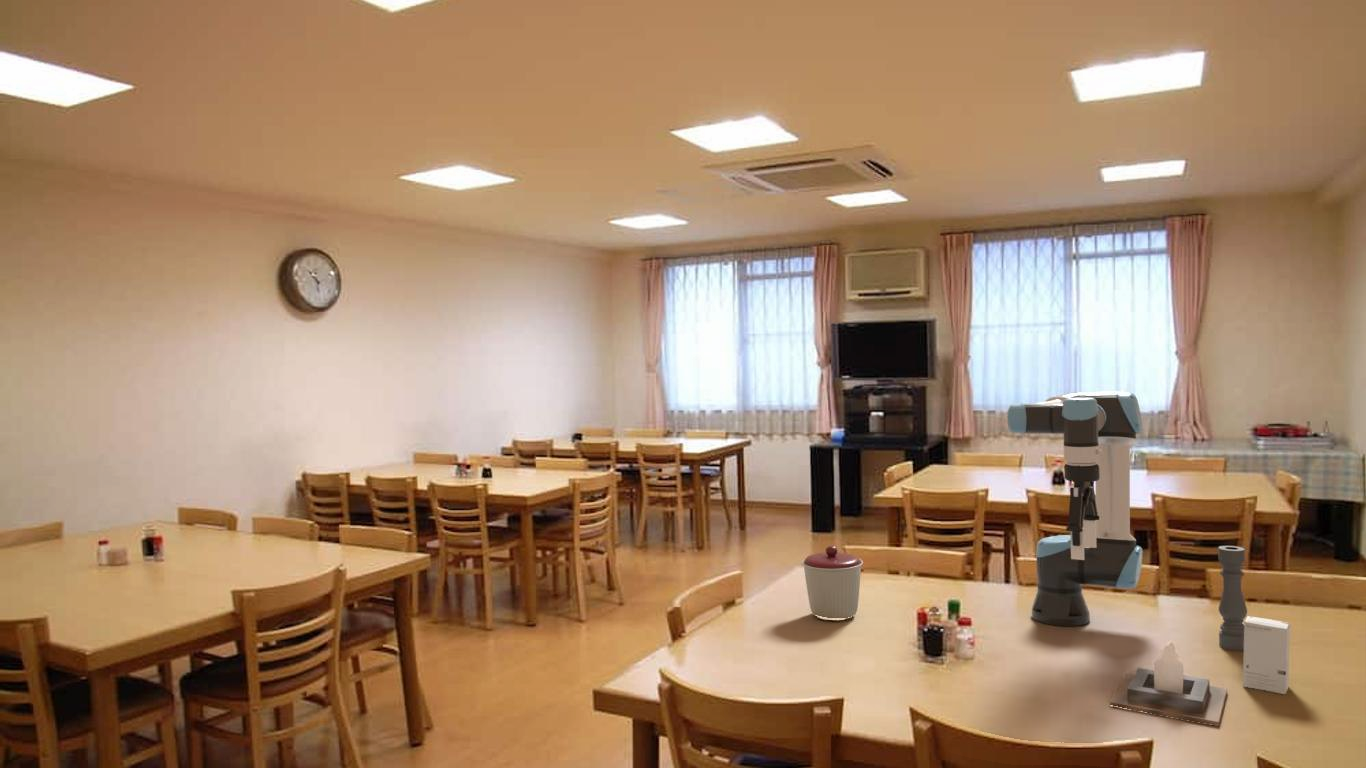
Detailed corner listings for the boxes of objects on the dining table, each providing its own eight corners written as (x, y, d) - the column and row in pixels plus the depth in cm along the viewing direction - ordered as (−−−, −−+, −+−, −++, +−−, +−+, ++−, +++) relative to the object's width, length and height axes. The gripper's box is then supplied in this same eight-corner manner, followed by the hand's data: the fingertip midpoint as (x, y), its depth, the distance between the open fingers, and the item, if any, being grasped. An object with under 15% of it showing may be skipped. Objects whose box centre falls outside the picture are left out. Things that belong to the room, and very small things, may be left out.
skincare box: (1242, 687, 194) (1241, 621, 193) (1246, 679, 198) (1245, 614, 198) (1288, 695, 188) (1287, 627, 188) (1291, 686, 193) (1290, 620, 192)
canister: (874, 611, 261) (871, 542, 260) (851, 629, 246) (848, 555, 245) (818, 604, 271) (815, 537, 270) (793, 621, 255) (790, 550, 255)
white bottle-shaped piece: (1153, 634, 193) (1183, 638, 190) (1155, 687, 193) (1184, 692, 190) (1152, 642, 187) (1182, 646, 184) (1153, 697, 188) (1183, 702, 185)
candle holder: (1246, 643, 220) (1243, 546, 220) (1250, 651, 215) (1248, 551, 214) (1217, 641, 223) (1215, 545, 222) (1221, 649, 217) (1218, 550, 217)
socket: (1109, 706, 187) (1109, 690, 186) (1126, 676, 203) (1125, 661, 203) (1218, 726, 175) (1218, 709, 175) (1226, 693, 191) (1226, 677, 191)
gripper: (1087, 471, 192) (1090, 566, 193) (1109, 457, 212) (1111, 543, 213) (1051, 469, 196) (1054, 562, 197) (1076, 456, 216) (1078, 541, 217)
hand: (1084, 553), depth 205 cm, fingers open, 13 cm apart
